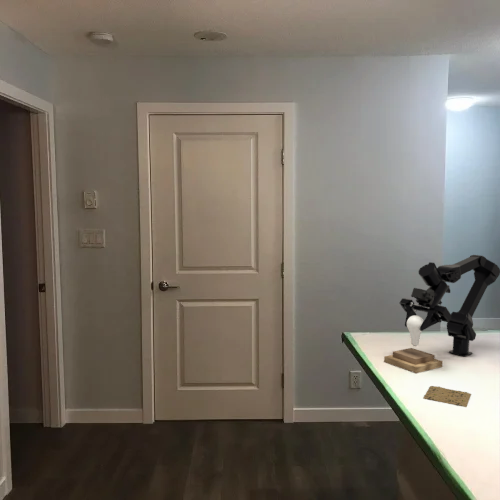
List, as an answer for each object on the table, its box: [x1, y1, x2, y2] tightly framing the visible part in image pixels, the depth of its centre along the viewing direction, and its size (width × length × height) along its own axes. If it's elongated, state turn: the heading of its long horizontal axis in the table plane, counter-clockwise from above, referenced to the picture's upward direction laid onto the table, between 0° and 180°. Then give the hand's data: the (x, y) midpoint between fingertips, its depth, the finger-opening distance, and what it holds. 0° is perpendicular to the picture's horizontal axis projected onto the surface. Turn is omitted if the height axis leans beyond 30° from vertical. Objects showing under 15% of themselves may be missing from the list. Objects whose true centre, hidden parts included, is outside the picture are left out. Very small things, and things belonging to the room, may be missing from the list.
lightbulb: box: [406, 314, 425, 347], centre depth 177 cm, size 6×6×11 cm
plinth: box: [383, 347, 443, 374], centre depth 178 cm, size 14×14×4 cm
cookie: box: [422, 385, 472, 408], centre depth 149 cm, size 12×12×1 cm
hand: (412, 328), depth 176 cm, fingers closed on lightbulb, 6 cm apart
